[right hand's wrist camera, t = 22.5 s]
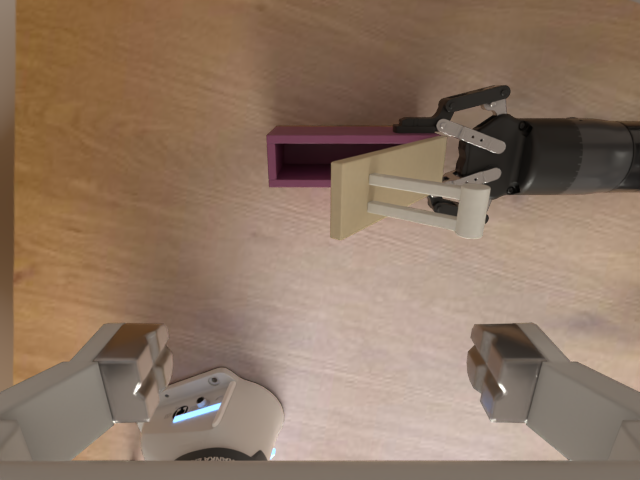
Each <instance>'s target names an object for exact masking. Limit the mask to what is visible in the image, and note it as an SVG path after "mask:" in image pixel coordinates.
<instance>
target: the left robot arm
mask: <svg viewBox="0 0 640 480" xmlns="http://www.w3.org/2000/svg"><path fill="white" fill-rule="evenodd" d="M509 95H510V88H509V87H508V86H506V85H493V86H489V87H485V88H481V89H478V90H474V91H470V92H466V93H462V94H458V95H454V96H450V97H446V98H443V99H441V100H440V101H439V104H438V106H439V107H438V109H437V111H436V113H435V114H434V115H433V116H432V117H404V118H402V119H399V124H394V125H393V132H394V133H435V131H440V132H442V133H445V134H447V135H450V136H452V137H455V138H458V139H460V140H459V147H458V149H459V158H458V161H457V163H456V170H453V171H450V172H447V173H445V174H444V175H443V177H442V183H448V184H454V185H461V186H462V185H463V184H466V183H477V184H484V185H487V186H489V187H490V188H491V189H490V195H489V201H488V207H487V210H488V208H489V206H490V203H491V201H492V200H493V199H497V198H499V197H501V196H503V195H584V194H592V193H599V192H640V121H606V120H599V119H588V118H575V117H570V118H566V119H565V118H514V117H513V116H511V115H509V114H507V111H506V98H507V97H508V96H509ZM479 105H480V106H481V108H482V109H483V110H491V111H492V113H493V115H492V116H491V117H489V118H488V119H486V120H485V121H483V122H482V123H480V124H479V125H478V126H476V127H475V128H473V129H470V128H467V127H465V126H462V125H459V124H457V123H454V122H452V121H450V120H451V118H452V115H453V113H454V112H455V111H459V110H463V109H467V108H471V107H475V106H479ZM456 175H457V176H456ZM427 198H428V205H429V206H430V207H431V208H432V209H433V211H434V212H436V213H441V214H446V215H451V216H457V213H458V206H459V203H458V202H454V201H450V200H446V199H443V198H442V197H441V196H435V195H429V196H427ZM488 219H489V217H488V215H487V214H486V219H485V223H487V222H488Z"/></svg>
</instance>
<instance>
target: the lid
mask: <svg viewBox="0 0 640 480" xmlns="http://www.w3.org/2000/svg"><path fill="white" fill-rule="evenodd" d="M446 144H447V136H436V137H432V138H428V139H423V140H419V141H415V142H411V143H407V144H403V145H399V146H395V147H391V148H387V149H382V150H378V151H374V152H370V153H366V154H362V155H358V156H354V157H350V158H346V159H342V160H337V161H333V162H331V218H330V237H331V238H333V239H337V240H343V239H345V238H347V237H349V236H351V235H353V234H355V233H357V232H359V231H361V230H363V229H365V228H366V227H368V226H370V225H372V224H374V223H376V222H378V221H380V220H382V219H384V218H386V217H392V218H397V219H402V220H406V221H411V222H416V223H420V224H425V225H430V226H434V227H439V228H444V229H448V230H453V231H455V234H456V235H458V236H460V237H463V238H468V239H478V238H481V237H482V236H483V231H484V225H485V219H486V213H487V207H488V201H489V195H490V189H491V188H490V187H489V186H487V185H484V184H477V183H466V184H463V185H462V186H461V185H454V184H448V183H442V177H443V169H444V161H445V152H446ZM429 195H435V196H441V197H447V198H453V199H459V206H458V213H457V216H451V215H446V214H441V213H436V212H431V211H426V210H420V209H415V208H410V207H407V206H409V205H411V204H413V203H415V202H417V201H419V200H421V199H423V198H425V197H427V196H429Z"/></svg>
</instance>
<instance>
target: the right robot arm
mask: <svg viewBox="0 0 640 480" xmlns="http://www.w3.org/2000/svg"><path fill="white" fill-rule="evenodd" d="M169 338H170V337H169V333H168V328H167V326H166V325H165V324H151V323H107V324H104V325H103V326H102V327H101V328H100V329H99V330H98V331H97V332H96V333H95V334H94V335H93V336H92V338H91V339H90V340H89V341H88V342H87V343H86V344H85V345H84V346H83V347H82V348H81V350H80V351H79V352H78V353H77V354H76V355H75V356H74V357H73V358H72V359H71V360H70V361H69V362H61V363H59V364H57V365H55V366H53V367H51V368H49V369H47V370H45V371H43V372H41V373H39V374H37V375H35V376H33V377H31V378H29V379H26V380H24V381H22V382H20V383H18V384H16V385H14V386H12V387H10V388H8V389H6V390H4V391H2V392H0V480H640V392H638V391H636V390H634V389H632V388H630V387H628V386H626V385H624V384H622V383H620V382H618V381H615V380H613V379H611V378H609V377H607V376H605V375H603V374H601V373H599V372H597V371H595V370H593V369H591V368H589V367H587V366H585V365H583V364H581V363H579V362H570V360H569V359H568V358H567V357H566V356H565V355H564V354H563V353H562V352H561V351H560V350H559V348H558V347H557V346H556V345H555V344H554V343H553V342H552V341H551V340H550V339H549V338H548V336H547V335H546V334H545V333H544V332H543V331H542V330H541V329H540V328H539V327H538V326H537V325H536V324H534V323H513V324H474V326H473V328H472V332H471V337H470V338H471V339H472V341H473V343H474V344H475V345H474V346H473V347H472V348H471V349H470V350H469V351H468V356H467V373H468V376H469V380H470V382H471V384H472V386H473V388H474V389H476V390H477V391H478V392H480V393H481V399H480V402H481V404H482V406H483V408H484V410H485V412H486V414H487V415H488V417H489V419H490V421H491V422H505V423H526V425H527V426H528V427H529V428H531V429H532V430H533V431H534V432H536V433H537V434H538V435H539V436H540V437H542V438H543V439H544V440H545V441H546V442H548V443H549V444H550V445H551V446H552V447H554V448H555V449H556V450H557V451H558V452H560V453H561V454H562V455H563V456H565V457H566V458H567V459H568V460H569V461H270V459H271V458H272V457H273V456H274V455H275V449H274V445H275V442H276V440H277V437H278V435H279V433H280V431H281V429H282V427H283V423H284V412H283V409H282V406H281V404H280V402H279V401H278V399H277V398H276V397H275V396H274V395H273V394H272V393H271V392H270V391H269V390H267V389H266V388H264V387H263V386H261V385H259V384H256V383H254V382H251V381H248V380H244V379H242V378H240V377H238V376H237V375H236V374H235V373H233V372H232V371H230V370H229V369H227V368H223V367H220V368H217V369H214V370H211V371H208V372H205V373H202V374H199V375H197V376H194V377H191V378H188V379H185V380H182V381H180V382H177V383H174V384H171V385H168V384H169V382H170V380H171V376H172V371H173V355H172V351H171V350H170V349H169V348H168V347H167V346H166V345H165V344H166V343H167V341H168V339H169ZM214 378H216V379H214ZM134 422H137V425H138V427H139V430H140V432H141V438H140V444H141V450H142V454H143V457H144V459H145V461H71V460H72V459H73V458H74V457H76V456H77V455H78V454H79V453H80V452H82V451H83V450H84V449H85V448H86V447H88V446H89V445H90V444H91V443H93V442H94V441H95V440H96V439H97V438H99V437H100V436H101V435H102V434H103V433H105V432H106V431H107V430H108V429H110V428H111V427H112V426H113V425H114V423H134Z"/></svg>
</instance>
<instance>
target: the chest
mask: <svg viewBox="0 0 640 480" xmlns="http://www.w3.org/2000/svg"><path fill="white" fill-rule="evenodd" d="M436 136H441V135H439V134H436V133H394V132H393V126H276V127H275V128H274V129H273V130H272V131H271V132H270V133H269V134H268V135H267V155H268V175H269V187H331V162H333V161H337V160H342V159H346V158H350V157H354V156H358V155H362V154H366V153H370V152H374V151H378V150H382V149H387V148H391V147H395V146H399V145H403V144H407V143H411V142H415V141H419V140H423V139H428V138H432V137H436Z"/></svg>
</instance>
